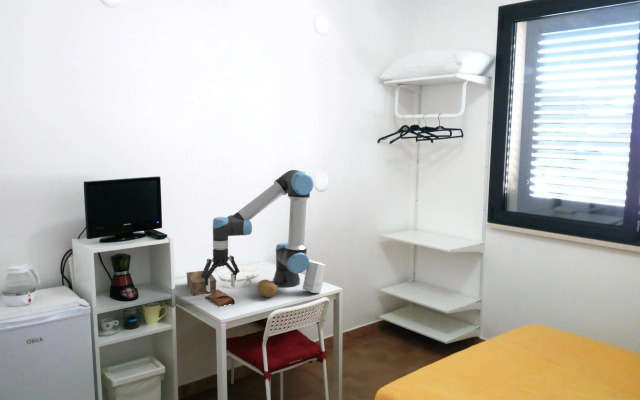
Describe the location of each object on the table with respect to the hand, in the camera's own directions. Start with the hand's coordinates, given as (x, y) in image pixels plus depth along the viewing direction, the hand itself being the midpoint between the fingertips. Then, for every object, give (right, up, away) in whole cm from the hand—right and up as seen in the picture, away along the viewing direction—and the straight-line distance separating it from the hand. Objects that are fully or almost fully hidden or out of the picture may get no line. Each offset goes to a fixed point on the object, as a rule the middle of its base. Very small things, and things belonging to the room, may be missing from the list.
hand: (220, 288), depth 254 cm
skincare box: (+46, -4, +12) cm, 47 cm away
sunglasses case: (-1, -7, 0) cm, 7 cm away
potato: (+23, -5, +8) cm, 25 cm away
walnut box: (-14, -3, +19) cm, 24 cm away
